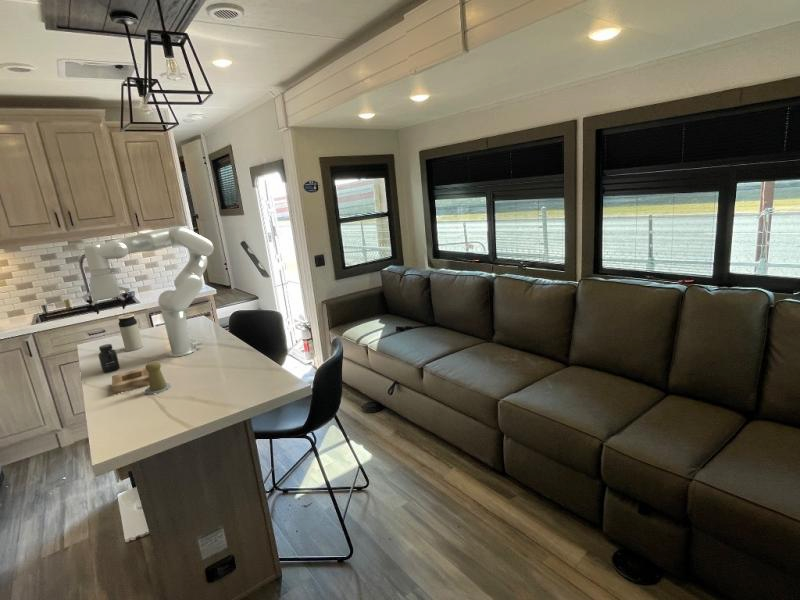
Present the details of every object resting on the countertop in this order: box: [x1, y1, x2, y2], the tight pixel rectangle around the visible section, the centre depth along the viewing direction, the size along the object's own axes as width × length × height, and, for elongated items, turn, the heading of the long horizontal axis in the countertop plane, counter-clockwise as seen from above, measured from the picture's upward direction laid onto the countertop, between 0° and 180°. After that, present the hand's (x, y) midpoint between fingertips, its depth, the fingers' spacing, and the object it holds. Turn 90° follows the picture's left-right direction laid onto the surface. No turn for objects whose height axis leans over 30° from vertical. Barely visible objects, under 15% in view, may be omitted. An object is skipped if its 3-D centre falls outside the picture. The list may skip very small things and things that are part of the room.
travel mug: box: [117, 313, 144, 352], centre depth 222 cm, size 8×8×18 cm
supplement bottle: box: [98, 343, 121, 374], centre depth 195 cm, size 7×7×12 cm
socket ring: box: [111, 366, 150, 395], centre depth 178 cm, size 14×14×4 cm
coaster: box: [144, 382, 171, 395], centre depth 171 cm, size 9×9×1 cm
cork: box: [145, 360, 167, 391], centre depth 169 cm, size 6×6×11 cm
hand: (111, 310), depth 187 cm, fingers open, 9 cm apart
